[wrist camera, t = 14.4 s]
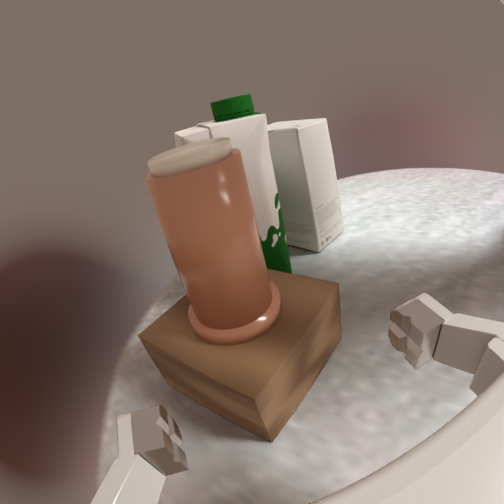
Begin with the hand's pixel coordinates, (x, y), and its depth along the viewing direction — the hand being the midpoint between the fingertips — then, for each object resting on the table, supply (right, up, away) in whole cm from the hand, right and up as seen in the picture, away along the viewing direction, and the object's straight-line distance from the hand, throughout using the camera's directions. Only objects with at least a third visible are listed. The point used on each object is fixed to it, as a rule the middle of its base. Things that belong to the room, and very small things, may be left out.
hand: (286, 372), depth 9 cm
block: (-1, -6, +16) cm, 17 cm away
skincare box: (+6, +6, +33) cm, 34 cm away
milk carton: (-1, +1, +28) cm, 28 cm away
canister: (-2, -1, +13) cm, 13 cm away
